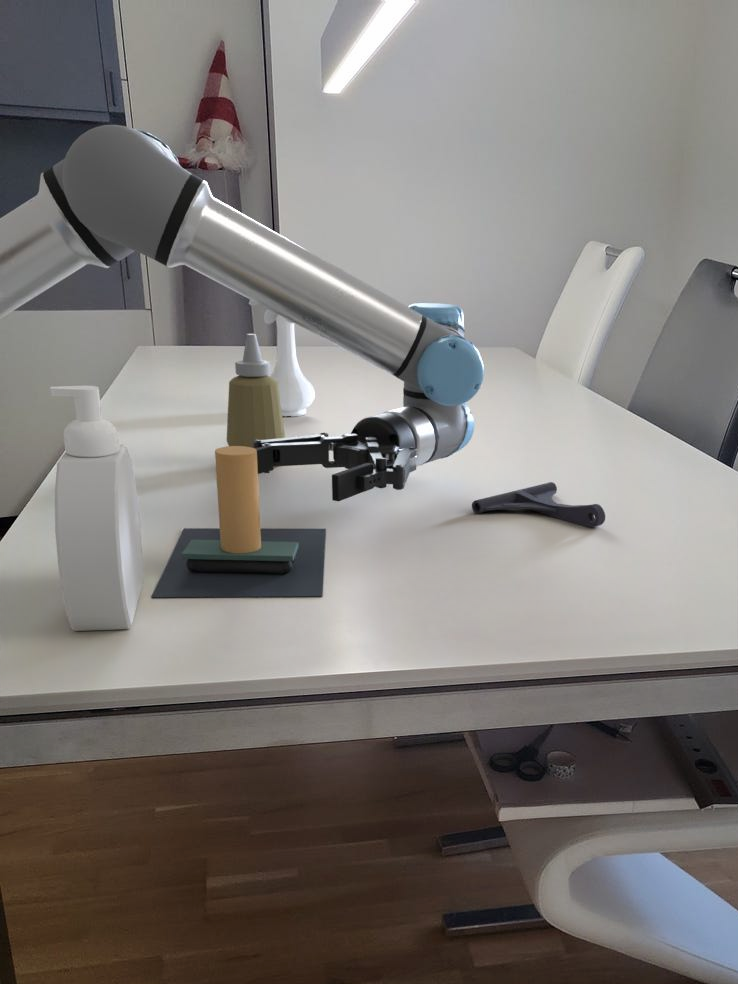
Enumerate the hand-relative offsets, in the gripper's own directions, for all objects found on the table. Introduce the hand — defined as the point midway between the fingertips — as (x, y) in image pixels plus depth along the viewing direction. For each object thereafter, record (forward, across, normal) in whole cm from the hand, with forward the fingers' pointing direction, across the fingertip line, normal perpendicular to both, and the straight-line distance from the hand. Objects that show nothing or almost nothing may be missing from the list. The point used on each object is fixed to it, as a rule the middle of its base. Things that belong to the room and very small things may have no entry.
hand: (281, 478), depth 109 cm
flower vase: (-60, +46, -8) cm, 76 cm away
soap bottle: (+22, +3, -8) cm, 24 cm away
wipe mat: (+5, +1, -8) cm, 9 cm away
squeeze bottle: (-28, +26, -8) cm, 39 cm away
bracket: (-30, -18, -8) cm, 36 cm away
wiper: (+7, 0, -8) cm, 11 cm away
